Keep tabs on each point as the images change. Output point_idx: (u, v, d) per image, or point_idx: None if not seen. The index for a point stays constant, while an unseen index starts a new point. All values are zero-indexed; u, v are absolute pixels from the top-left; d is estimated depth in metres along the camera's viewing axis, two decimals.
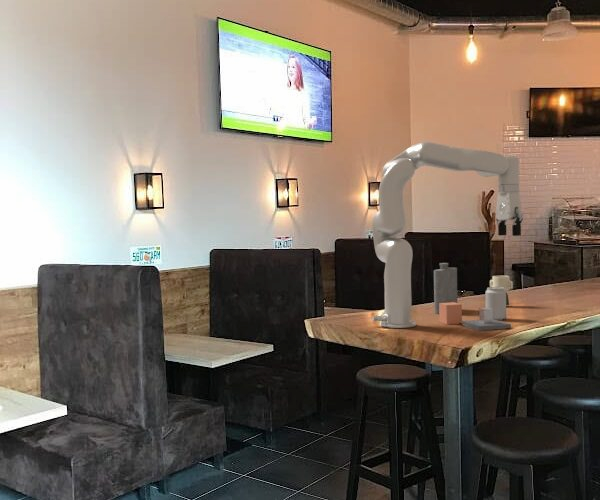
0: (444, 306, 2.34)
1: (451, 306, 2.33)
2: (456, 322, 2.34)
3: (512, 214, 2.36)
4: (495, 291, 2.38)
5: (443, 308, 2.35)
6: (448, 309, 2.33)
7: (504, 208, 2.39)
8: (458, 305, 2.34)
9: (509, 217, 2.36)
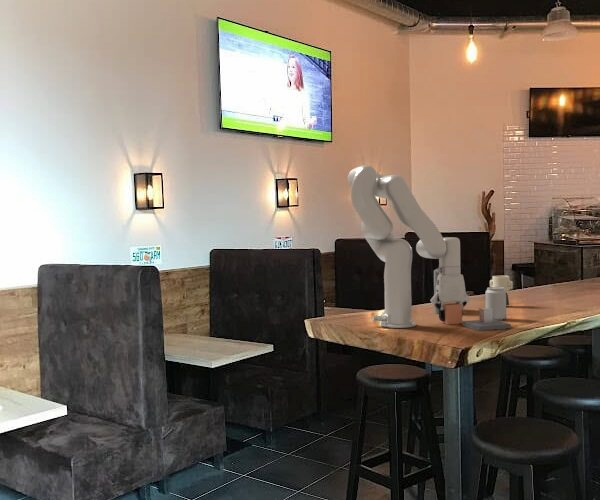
0: (444, 306, 2.34)
1: (451, 306, 2.33)
2: (456, 322, 2.34)
3: None
4: (495, 291, 2.38)
5: None
6: (448, 309, 2.33)
7: (457, 290, 2.33)
8: (458, 305, 2.34)
9: (464, 299, 2.35)
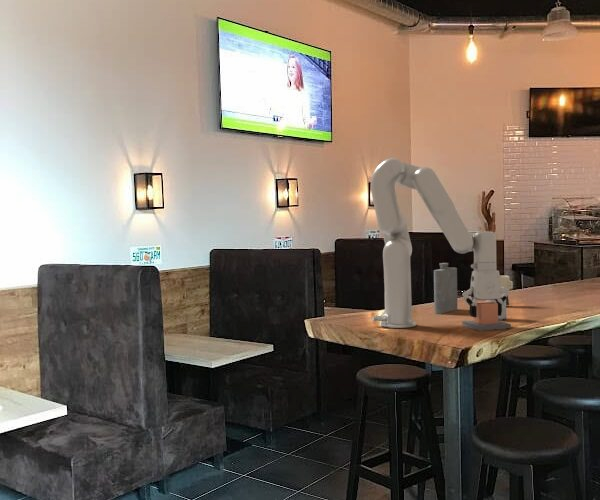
0: (479, 305, 2.23)
1: (487, 305, 2.22)
2: (492, 322, 2.23)
3: None
4: None
5: (478, 307, 2.24)
6: (483, 309, 2.22)
7: (493, 287, 2.22)
8: (494, 304, 2.22)
9: (501, 296, 2.23)
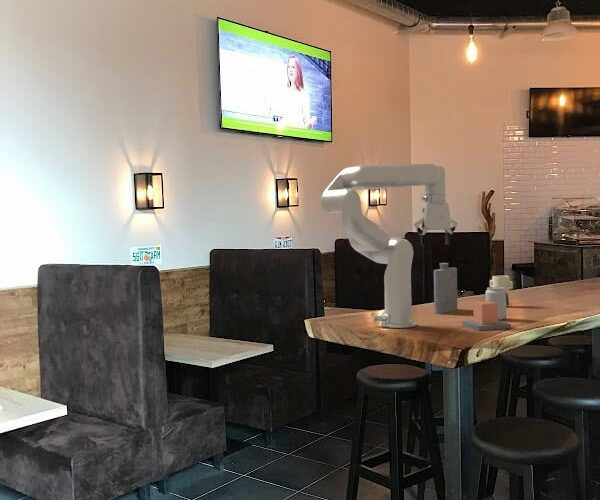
0: (479, 305, 2.23)
1: (487, 305, 2.22)
2: (492, 322, 2.23)
3: None
4: (495, 291, 2.38)
5: (478, 307, 2.24)
6: (483, 309, 2.22)
7: (442, 217, 2.39)
8: (494, 304, 2.22)
9: (449, 226, 2.40)
